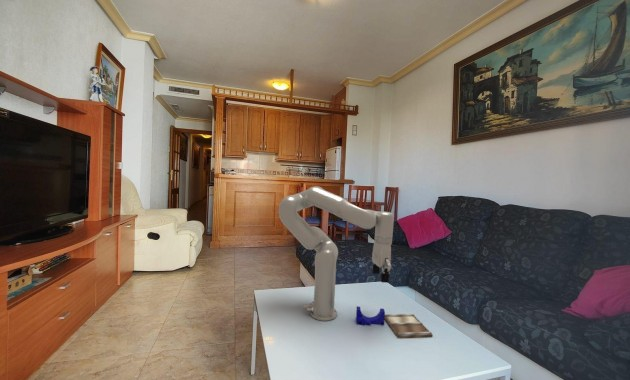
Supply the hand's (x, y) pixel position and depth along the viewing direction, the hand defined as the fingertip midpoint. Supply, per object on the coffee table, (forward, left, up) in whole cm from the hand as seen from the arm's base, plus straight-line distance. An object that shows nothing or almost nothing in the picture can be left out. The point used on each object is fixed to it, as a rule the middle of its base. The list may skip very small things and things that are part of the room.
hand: (380, 277), depth 116 cm
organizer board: (+11, -5, -20) cm, 23 cm away
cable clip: (-4, -1, -20) cm, 21 cm away
